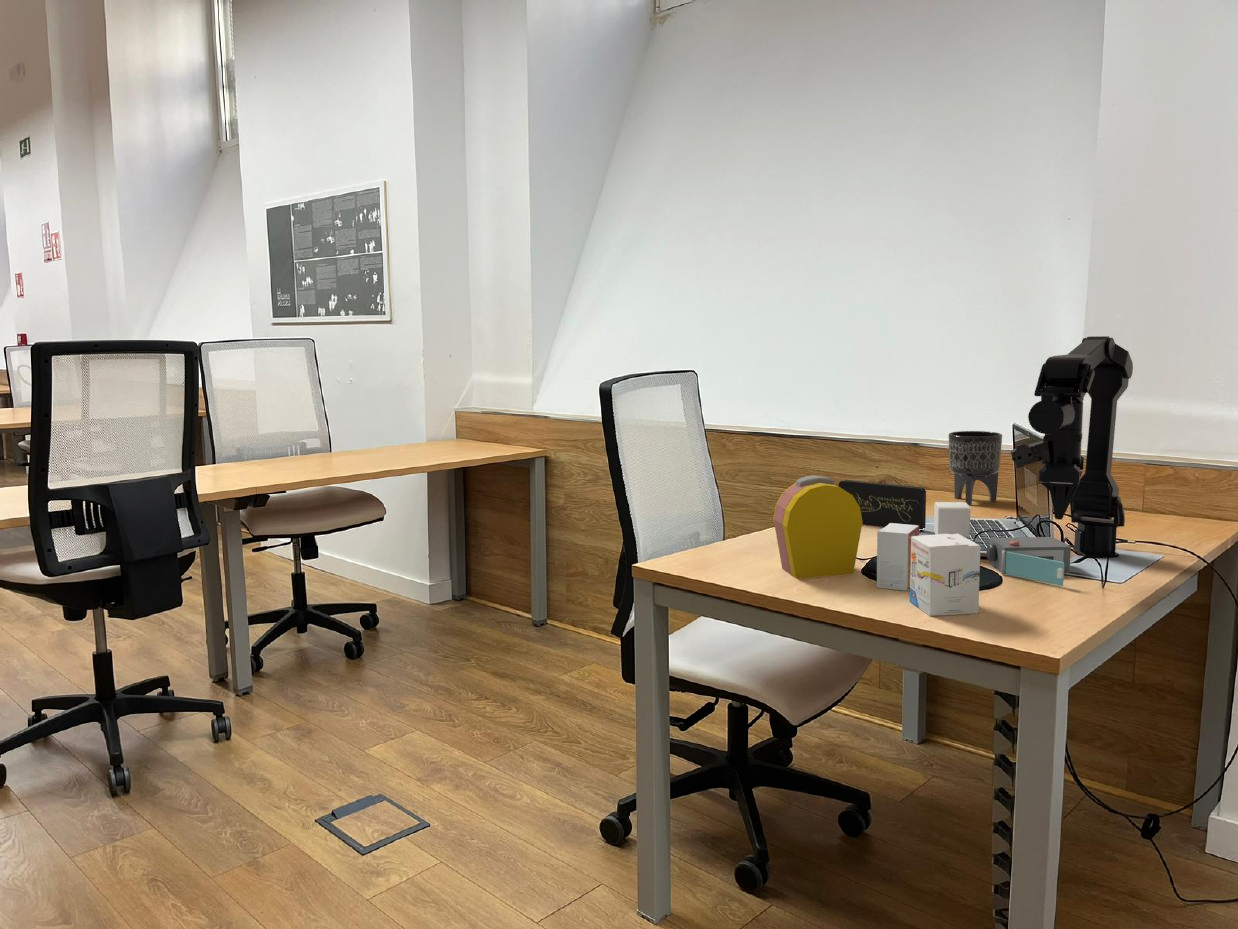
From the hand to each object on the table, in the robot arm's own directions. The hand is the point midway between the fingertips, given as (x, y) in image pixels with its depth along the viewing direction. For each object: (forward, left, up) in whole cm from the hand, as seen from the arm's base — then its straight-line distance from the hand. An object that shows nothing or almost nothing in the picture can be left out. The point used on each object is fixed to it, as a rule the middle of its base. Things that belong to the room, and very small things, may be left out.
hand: (1060, 514), depth 166 cm
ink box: (+25, +16, -12) cm, 32 cm away
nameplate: (+21, -47, -12) cm, 53 cm away
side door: (+5, +1, -12) cm, 13 cm away
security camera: (+13, -21, -12) cm, 28 cm away
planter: (-9, -74, -12) cm, 76 cm away
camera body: (+2, -8, -12) cm, 15 cm away
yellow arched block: (+42, -8, -12) cm, 45 cm away
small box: (+29, +2, -12) cm, 32 cm away
